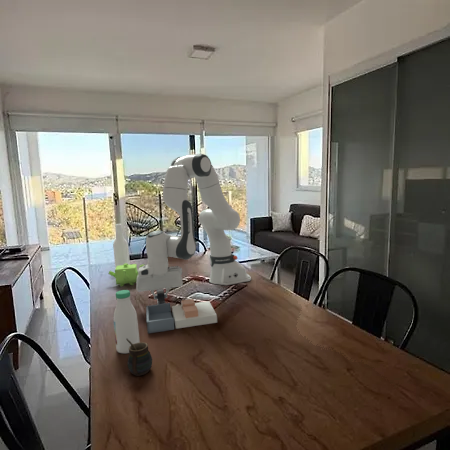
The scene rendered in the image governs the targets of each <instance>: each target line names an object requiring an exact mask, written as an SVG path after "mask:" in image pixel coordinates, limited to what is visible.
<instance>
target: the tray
mask: <svg viewBox="0 0 450 450" xmlns="http://www.w3.org/2000/svg"><path fill="white" fill-rule="evenodd" d="M145 310H146V314H145V315H146V327H147V329H146V330H147V334H154V333H159V332H167V331H173V330H175V323H174V318H173V314H172V312H171V311H172V307H171V302H165V304H158V303H157V304H152V305H151V304H150V305H146V306H145Z"/></svg>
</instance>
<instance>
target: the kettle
mask: <svg viewBox="0 0 450 450" xmlns="http://www.w3.org/2000/svg"><path fill="white" fill-rule="evenodd" d="M145 265H146V264H140V265H139V267H137V263H133V264H131V263H130V265H128V264H123V265H119V266H117V267H116V268H115V269H114V271H112V270H109V271H108V275H110V276H112V277H113V278H115V285H119V287H124V286H125V284H126V285H127V284H129V286H134V285H135V284H136V280H137V275H138V269H139V268H140V267H142V266H145Z"/></svg>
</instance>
